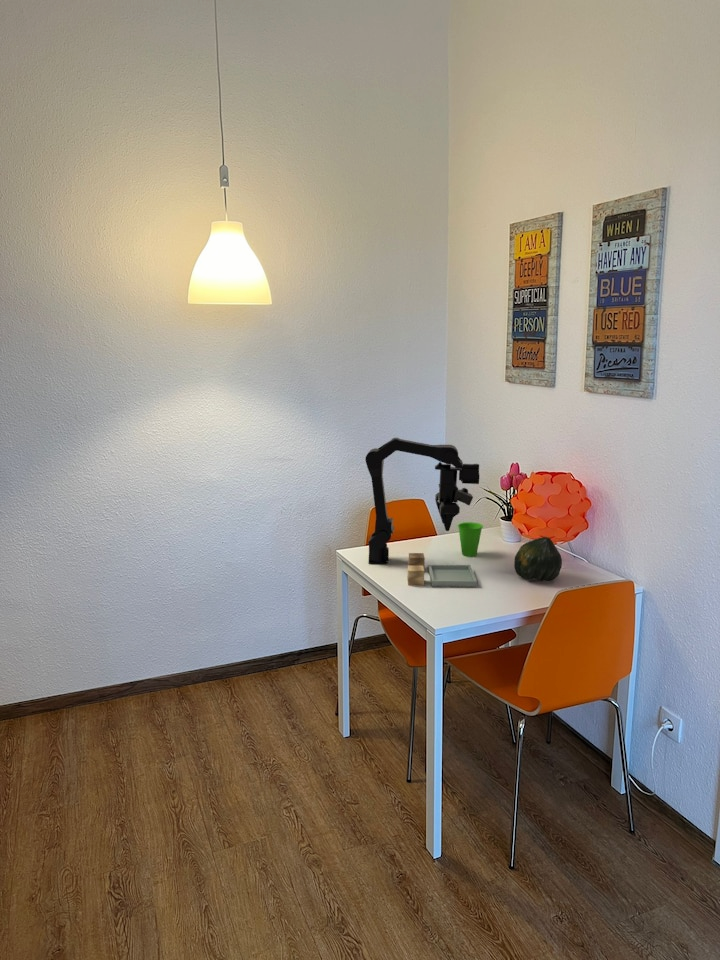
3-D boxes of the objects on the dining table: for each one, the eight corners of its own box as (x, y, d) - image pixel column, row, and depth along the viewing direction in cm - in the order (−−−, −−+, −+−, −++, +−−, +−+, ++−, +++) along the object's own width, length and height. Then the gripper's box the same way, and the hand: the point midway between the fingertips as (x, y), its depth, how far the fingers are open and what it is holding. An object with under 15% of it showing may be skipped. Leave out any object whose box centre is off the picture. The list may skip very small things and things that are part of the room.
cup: (480, 551, 255) (482, 522, 253) (482, 559, 246) (483, 529, 244) (456, 550, 256) (457, 521, 253) (457, 558, 247) (457, 528, 245)
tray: (432, 587, 219) (432, 581, 218) (428, 570, 235) (428, 564, 234) (476, 587, 219) (477, 581, 218) (470, 570, 234) (470, 564, 234)
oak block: (408, 585, 221) (408, 570, 219) (407, 580, 225) (407, 565, 224) (423, 585, 220) (424, 570, 219) (422, 580, 225) (423, 565, 224)
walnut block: (409, 571, 233) (409, 557, 232) (408, 567, 238) (408, 553, 237) (424, 572, 233) (424, 557, 232) (423, 567, 238) (423, 553, 237)
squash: (501, 556, 232) (522, 531, 221) (537, 552, 238) (559, 527, 227) (518, 593, 224) (541, 570, 213) (555, 588, 230) (579, 565, 219)
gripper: (476, 489, 226) (473, 535, 229) (467, 477, 244) (465, 520, 247) (442, 488, 226) (439, 534, 229) (436, 476, 244) (434, 519, 247)
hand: (445, 527), depth 238 cm, fingers open, 9 cm apart
